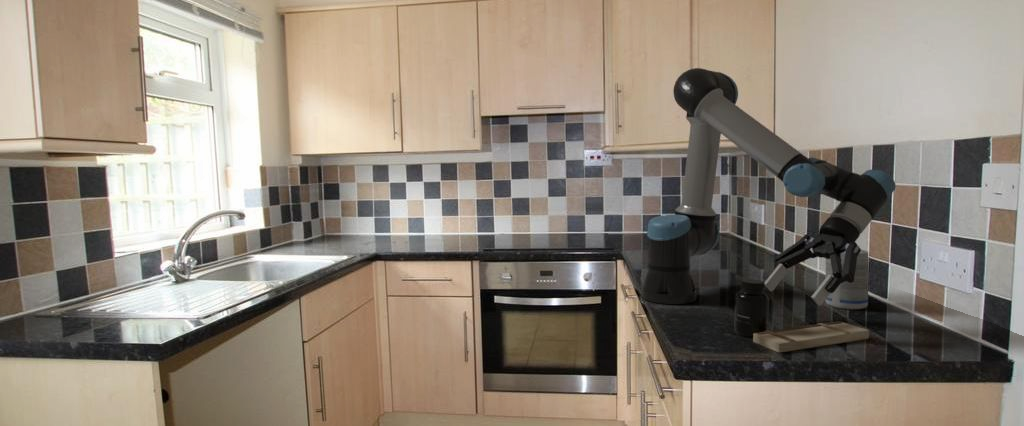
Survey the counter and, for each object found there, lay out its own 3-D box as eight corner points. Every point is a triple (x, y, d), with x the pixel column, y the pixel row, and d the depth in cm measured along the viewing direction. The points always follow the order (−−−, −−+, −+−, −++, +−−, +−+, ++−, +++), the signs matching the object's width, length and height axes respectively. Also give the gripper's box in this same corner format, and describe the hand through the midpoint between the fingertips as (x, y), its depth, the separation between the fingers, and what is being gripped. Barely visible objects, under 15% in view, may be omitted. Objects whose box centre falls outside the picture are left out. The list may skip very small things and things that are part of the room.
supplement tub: (874, 306, 136) (876, 250, 135) (857, 312, 131) (859, 254, 129) (834, 299, 144) (836, 246, 143) (817, 304, 139) (819, 250, 138)
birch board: (753, 341, 111) (753, 332, 111) (839, 329, 118) (839, 320, 118) (778, 352, 104) (779, 342, 104) (868, 338, 111) (869, 329, 111)
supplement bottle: (735, 336, 114) (736, 283, 113) (733, 327, 121) (734, 276, 120) (769, 339, 112) (771, 285, 111) (766, 330, 118) (767, 278, 117)
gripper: (905, 244, 111) (848, 319, 108) (808, 230, 135) (759, 291, 132) (888, 220, 109) (829, 296, 106) (792, 210, 133) (742, 272, 130)
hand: (790, 294), depth 119 cm, fingers open, 13 cm apart
